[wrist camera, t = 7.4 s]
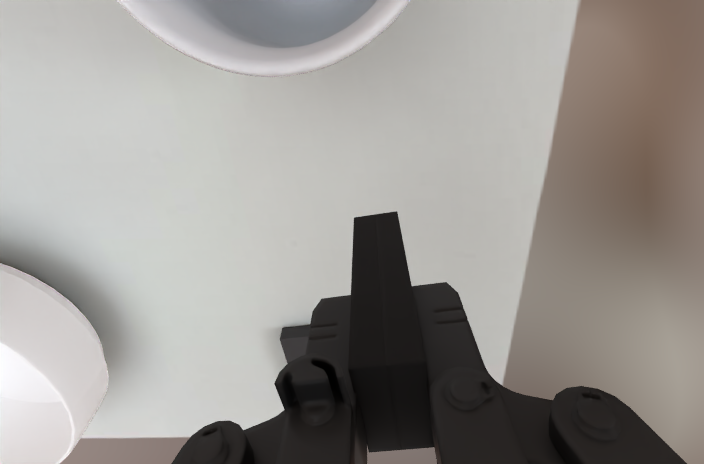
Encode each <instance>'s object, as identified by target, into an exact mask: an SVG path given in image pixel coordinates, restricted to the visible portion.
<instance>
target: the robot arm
mask: <svg viewBox="0 0 704 464" xmlns="http://www.w3.org/2000/svg"><path fill="white" fill-rule="evenodd" d="M308 339H309V340H308V342H307V348H306V353H305V355H303V356H300V357H298V358H296V359H295V360H293V361H291V362H290V363H288V364H287V365H286V366H285V367H284V368H283V369H282V371H281V372H280V373H279V375H278V377H277V379H276V381H275V386H276V389H277V391H278V394H279V396H280V399H281V401H282V404H283V407H284V409H285V410H284V411H283V412H282V413H280V414H279V415H278V416H276V417H274V418H272V419H270V420H268V421H266V422H263V423H261V424H258V425H256V426H253V427H251V428H248V429H246V430H242V428H241V427H240V425H238V424H236V423H234V422H231V421H217V422H215V423H212V424H209V425H207V426H204V427H203V428H202V429H200V430H199V431H198V432H196V433H195V434H194V435H192V436H191V438H190V439H189V440H188V441H187V442H186V444H185V445H184V446H183V447H182V448H181V450H180V452H179V453H178V455H177V456H176V458H175V460H174V461H173V462H172V464H367V446H368V450H369V452H379V451H392V450H404V449H417V448H429V447H435V453H436V459H437V464H687V463H686V462H685V461H684V460H683V459H682V458H681V457H680V456H679V455H677V454H676V453H675V452H674V451H673V450H672V449H671V448H670V447H669V446H668V445H667V444H666V443H665V442H664V441H663V440H662V439H661V438H660V437H659V436H658V435H657V434H656V433H655V432H654V431H653V430H652V429H651V428H650V427H649V426H648V425H647V424H646V423H645V422H644V421H643V420H642V419H641V418H640V417H639V416H638V415H637V414H636V413H635V412H634V411H633V410H631V408H630V407H628V406H627V405H626V404H624V403H623V402H622V401H620V400H619V399H618V398H616V397H615V396H613V395H611V394H608V393H606V392H604V391H601V390H599V389H595V388H589V387H584V386H579V387H571V388H566V389H564V390H563V391H561V392H559V393H558V394H556V396H555V398H554V400H547V399H542V398H537V397H532V396H526V395H522V394H519V393H516V392H513V391H511V390H509V389H507V388H505V387H503V386H502V385H500V384H499V383H498V382H496V381H495V380H494V379H493V378H492V377H491V375H490V374H489V373H488V371H487V370H486V368H485V366H484V363H483V360H482V358H481V355H480V352H479V349H478V347H477V344H476V341H475V338H474V336H473V333H472V330H471V327H470V325H469V322H468V320H467V316H466V313H465V311H464V309H463V305H462V302H461V300H460V297H459V294H458V292H456V291H455V290H454V289H453V288H452V287H451V286H450V285H449V284H448V283H447V282H444V283H436V284H427V285H419V286H411V281H410V276H409V271H408V266H407V260H406V255H405V250H404V245H403V240H402V234H401V229H400V224H399V219H398V214H397V212H390V213H383V214H376V215H369V216H362V217H355V218H354V232H353V258H352V284H351V295H348V296H340V297H332V298H324V299H321V301H320V302H319V303H318V305H317V306H316V308H315V309H314V311H313V313H312V318H311V324H310V330H309V336H308Z"/></svg>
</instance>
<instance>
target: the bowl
mask: <svg viewBox="0 0 704 464" xmlns="http://www.w3.org/2000/svg"><path fill="white" fill-rule="evenodd" d="M108 382H109V375H108V369H107V364H106V361H105V358H104V353H103V347H102V344H101V342H100V340H99V337H98V335H97V333H96V331H95V330H94V328H93V327H92V325H91V324H90V322H89V321H88V320H87V318H86V317H85V316H84V315H83V314H82V313H81V312H80V311H79V310H78V309H77V308H76V307H75V306H74V305H73V303H72V302H70V301H69V300H68V299H66V298H65V297H64V296H63V295H61V294H60V293H59V292H57V291H56V290H55V289H53V288H52V287H50V286H48V285H47V284H45V283H43V282H42V281H40V280H38V279H37V278H35V277H33V276H31V275H29V274H26V273H24V272H22V271H20V270H17V269H15V268H13V267H10V266H7V265H4V264H1V263H0V464H60V463H61V462H62V461H63V460H64V459H65V458H66V457H67V456H68V455H69V454H70V453H71V452H72V450H73V448H74V447H75V445H76V444H77V442H78V441H79V439H80V438H81V436H82V435H83V433H84V432H85V430H86V429H87V427H88V425H89V424H90V422H91V420H92V419H93V417H94V415H95V413H96V412H97V410H98V408H99V406H100V405H101V403H102V401H103V399H104V397H105V395H106V393H107V389H108Z"/></svg>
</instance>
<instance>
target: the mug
mask: <svg viewBox="0 0 704 464" xmlns="http://www.w3.org/2000/svg"><path fill="white" fill-rule="evenodd" d="M117 1H118V2H119V4H120V5H121V6H122V7H123V8H124V9H125V10H126V11H127V12H128V13H129V14H130V15H131V16H132V17H133V18H135V19H136V20H137V21H138V22H139V23H140V24H141V25H142V26H144V27H145V28H146V29H147V30H149V31H150V32H151V33H153V34H154V35H155V36H157V37H158V38H159V39H161V40H162V41H163V42H165V43H166V44H168V45H170V46H171V47H173V48H174V49H176V50H178V51H180V52H182V53H183V54H185V55H187V56H189V57H191V58H193V59H196V60H198V61H200V62H202V63H205V64H207V65H210V66H212V67H215V68H218V69H221V70H225V71H229V72H233V73H237V74H244V75H250V76H263V77H279V76H291V75H298V74H303V73H308V72H312V71H315V70H319V69H322V68H325V67H327V66H330V65H332V64H335V63H337V62H339V61H340V60H342V59H344V58H346V57H348V56H350V55H351V54H353V53H355V52H356V51H358V50H360V49H361V48H363V47H364V46H365V45H367V44H368V43H369V42H370V41H372V40H373V39H374V38H376V37H377V36H378V35H379V34H381V33H382V32H383V31H384V30H385V29H386V28H387V27H388V26H389V25H390V24H391V23H392V22H393V21H394V20H395V19H396V18H397V17H398V16H399V15H400V13H401V12H402V11H403V10H404V8H405V7H406V6H407V5H408V3H409V2H410V0H117Z"/></svg>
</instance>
